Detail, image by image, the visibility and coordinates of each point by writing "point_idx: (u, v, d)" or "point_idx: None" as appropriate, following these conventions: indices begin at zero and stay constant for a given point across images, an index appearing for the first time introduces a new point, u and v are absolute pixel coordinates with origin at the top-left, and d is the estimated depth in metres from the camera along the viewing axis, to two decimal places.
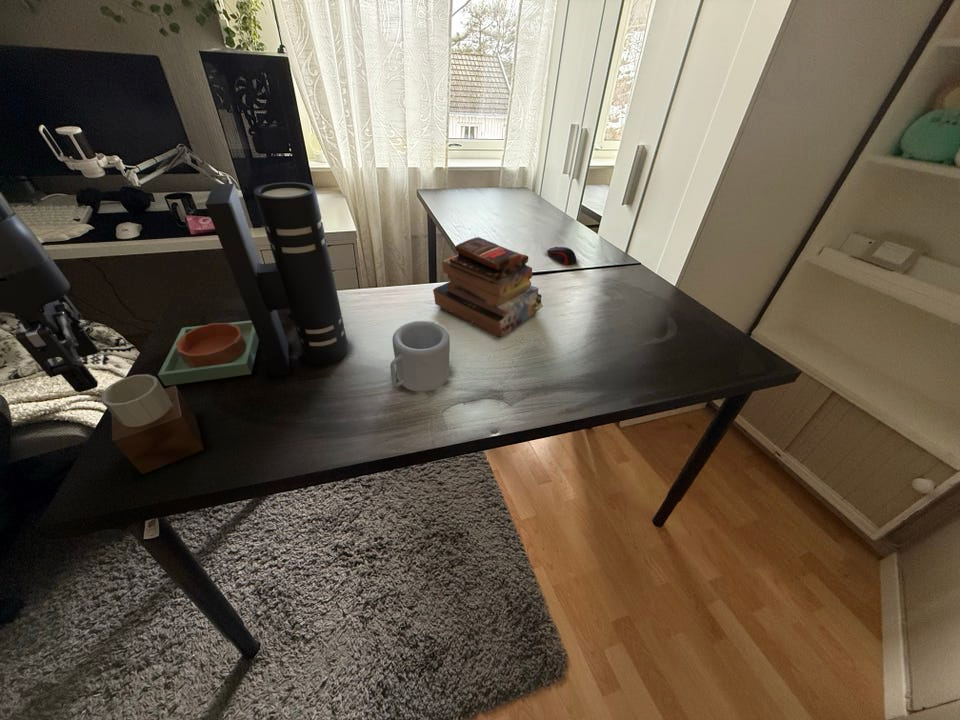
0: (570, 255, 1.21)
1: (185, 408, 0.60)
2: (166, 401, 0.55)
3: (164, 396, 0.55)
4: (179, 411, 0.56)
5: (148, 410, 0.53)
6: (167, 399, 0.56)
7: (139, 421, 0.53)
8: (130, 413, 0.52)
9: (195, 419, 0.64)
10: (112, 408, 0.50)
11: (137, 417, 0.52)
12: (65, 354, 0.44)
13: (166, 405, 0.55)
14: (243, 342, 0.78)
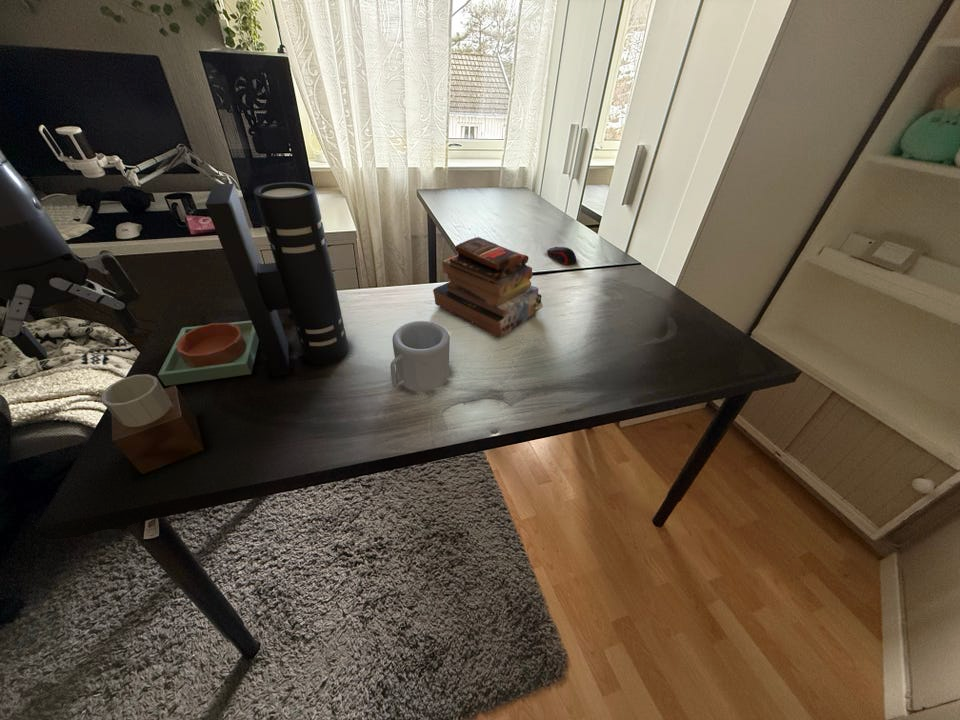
0: (569, 255, 1.21)
1: (185, 408, 0.60)
2: (166, 401, 0.55)
3: (164, 396, 0.55)
4: (179, 411, 0.56)
5: (148, 410, 0.53)
6: (167, 399, 0.56)
7: (139, 421, 0.53)
8: (130, 413, 0.52)
9: (195, 419, 0.64)
10: (112, 408, 0.50)
11: (137, 417, 0.52)
12: None
13: (166, 405, 0.55)
14: (243, 342, 0.78)
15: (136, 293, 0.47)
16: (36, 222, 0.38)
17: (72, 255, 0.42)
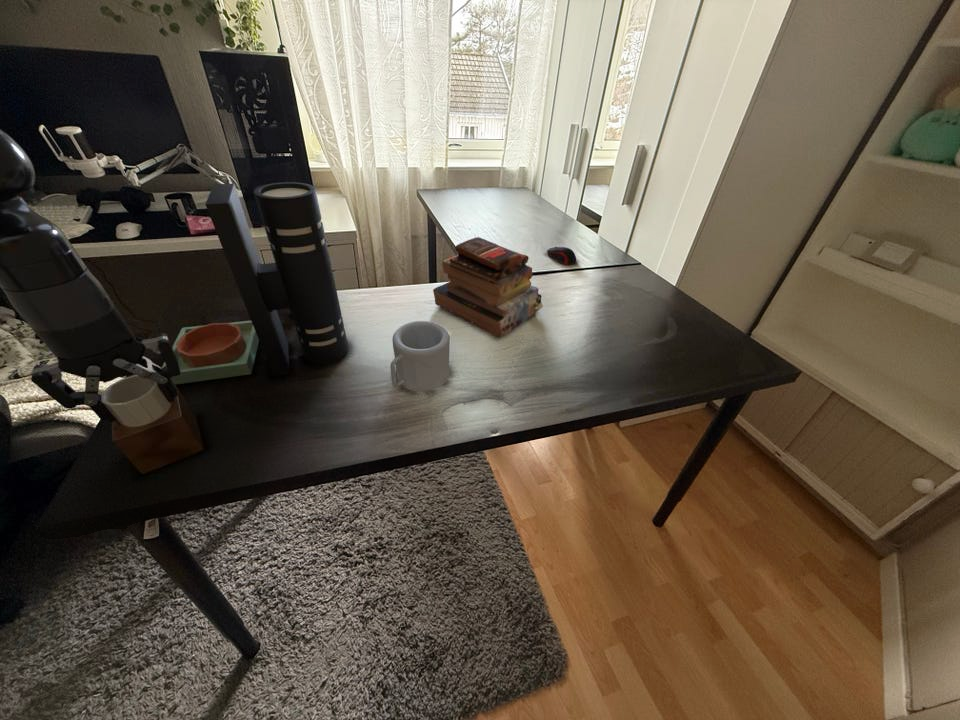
0: (569, 255, 1.21)
1: (185, 408, 0.60)
2: (165, 401, 0.55)
3: (164, 396, 0.55)
4: (179, 411, 0.56)
5: (148, 410, 0.53)
6: None
7: (139, 421, 0.53)
8: (130, 413, 0.52)
9: (195, 419, 0.64)
10: (112, 408, 0.50)
11: (137, 417, 0.52)
12: (52, 397, 0.47)
13: (166, 405, 0.55)
14: (243, 342, 0.78)
15: (177, 370, 0.54)
16: (105, 318, 0.45)
17: (132, 338, 0.49)
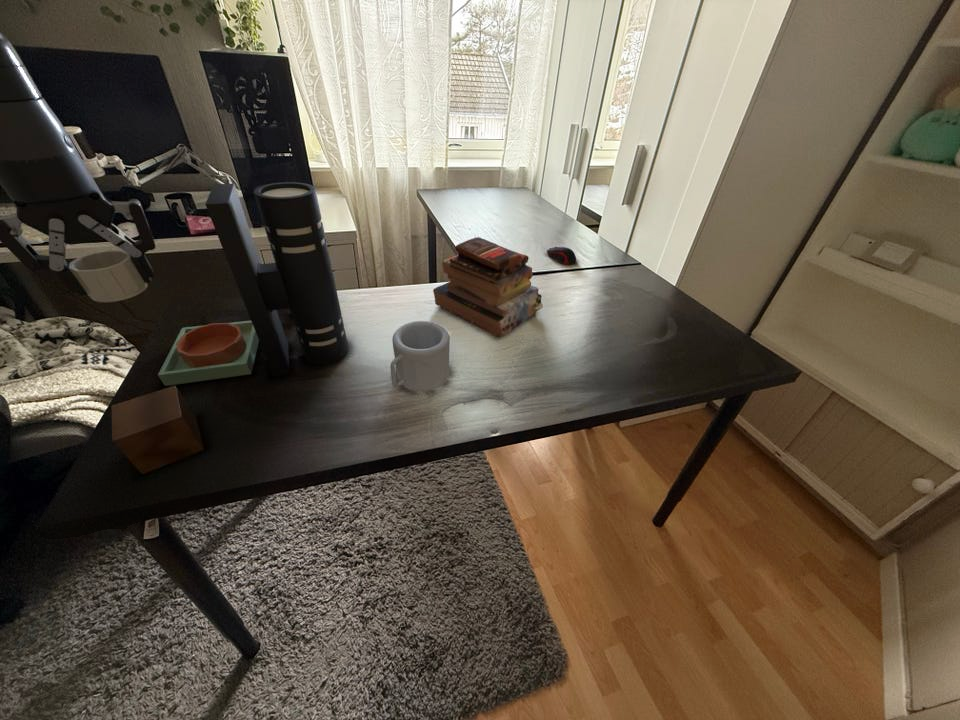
0: (569, 255, 1.21)
1: (185, 408, 0.60)
2: (140, 280, 0.51)
3: (139, 274, 0.51)
4: (179, 411, 0.56)
5: (120, 283, 0.49)
6: None
7: (111, 295, 0.49)
8: (101, 284, 0.48)
9: (195, 419, 0.64)
10: (80, 275, 0.47)
11: (108, 290, 0.48)
12: (12, 252, 0.43)
13: (141, 284, 0.51)
14: (243, 342, 0.78)
15: (152, 243, 0.50)
16: (66, 158, 0.41)
17: (100, 195, 0.45)
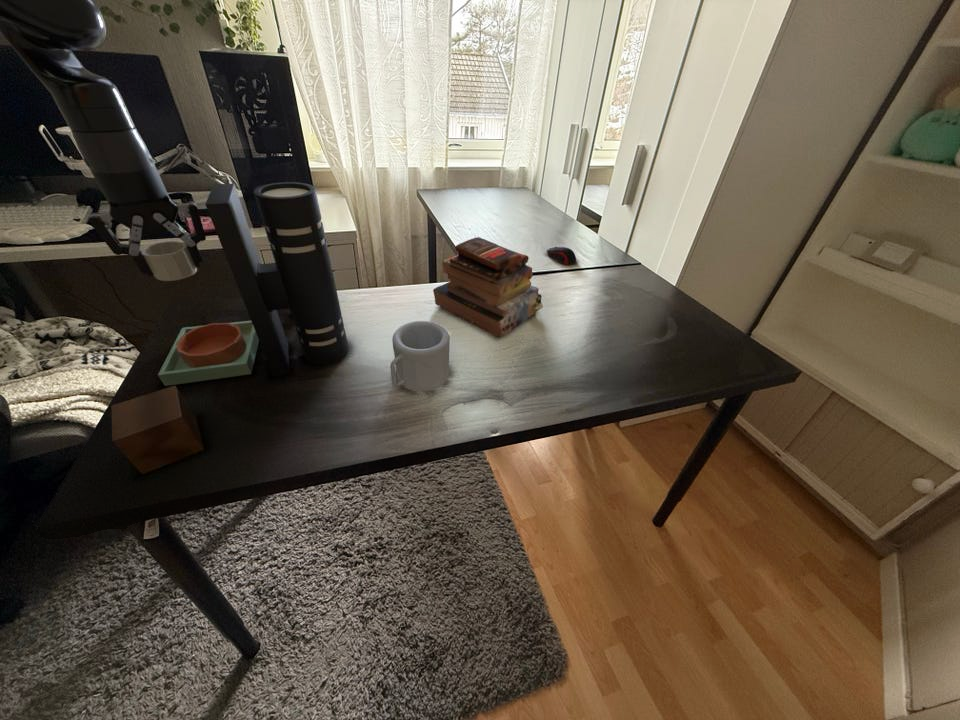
0: (569, 255, 1.21)
1: (185, 408, 0.60)
2: (193, 264, 0.66)
3: (192, 259, 0.65)
4: (179, 411, 0.56)
5: (179, 266, 0.63)
6: None
7: (172, 275, 0.63)
8: (165, 266, 0.62)
9: (195, 419, 0.64)
10: (151, 259, 0.61)
11: (170, 271, 0.63)
12: (104, 240, 0.57)
13: (193, 267, 0.66)
14: (243, 342, 0.78)
15: (203, 235, 0.64)
16: (149, 171, 0.55)
17: (168, 198, 0.59)
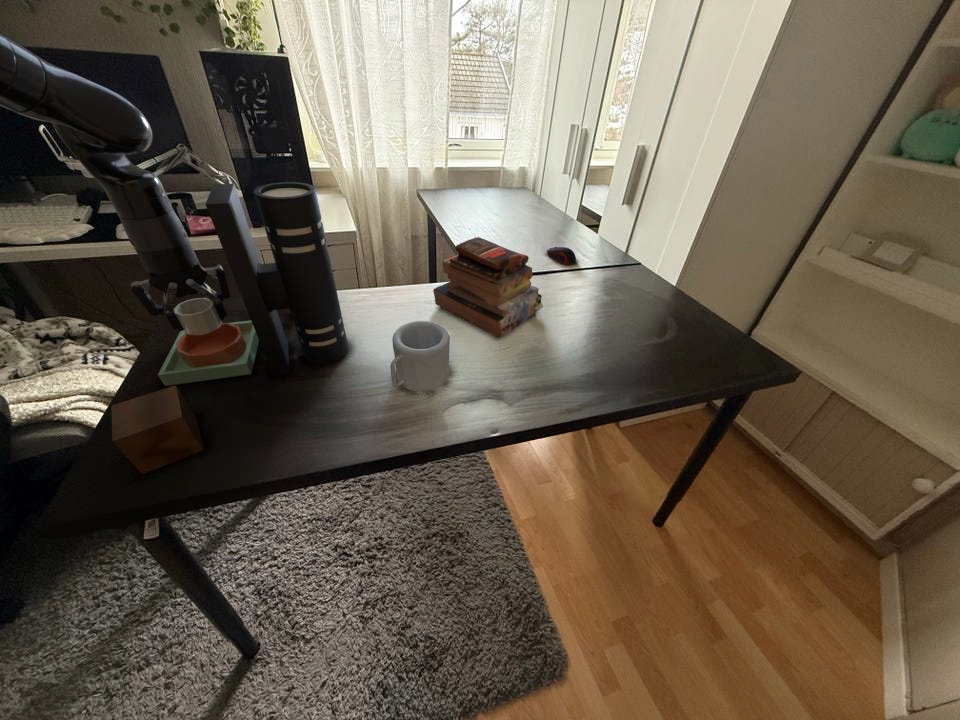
0: (569, 255, 1.21)
1: (185, 408, 0.60)
2: (218, 318, 0.73)
3: (217, 314, 0.73)
4: (179, 411, 0.56)
5: (207, 322, 0.70)
6: (219, 317, 0.73)
7: (200, 330, 0.70)
8: (195, 323, 0.69)
9: (195, 419, 0.64)
10: (182, 318, 0.68)
11: (199, 327, 0.70)
12: (143, 304, 0.64)
13: (219, 321, 0.73)
14: (243, 342, 0.78)
15: (228, 293, 0.72)
16: (184, 245, 0.63)
17: (199, 265, 0.67)
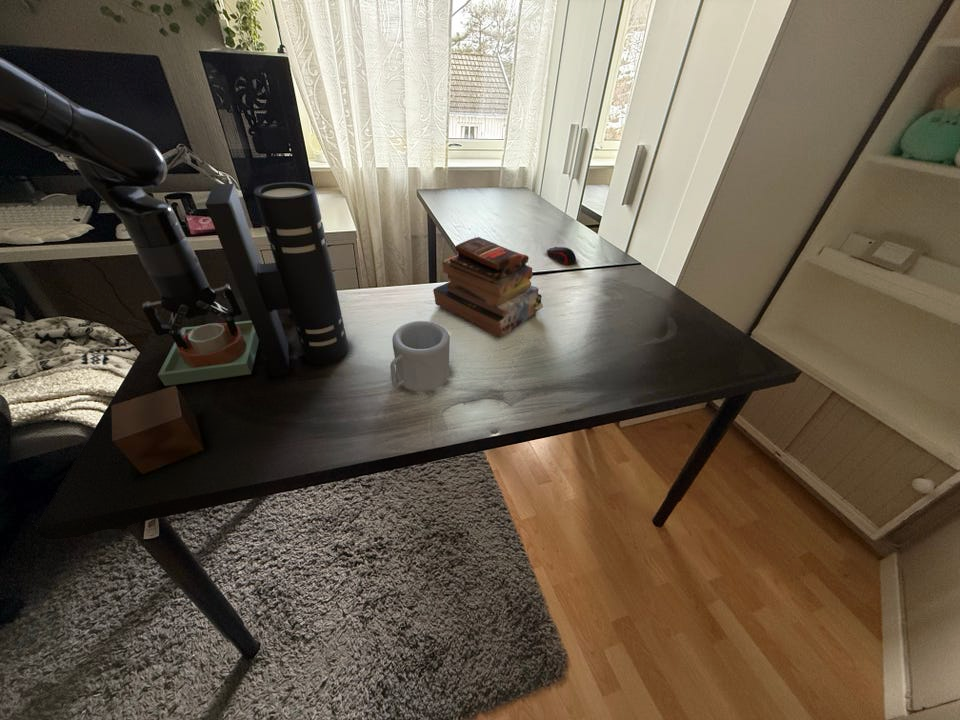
0: (569, 255, 1.21)
1: (185, 408, 0.60)
2: (229, 343, 0.77)
3: (228, 339, 0.76)
4: (179, 411, 0.56)
5: (219, 347, 0.74)
6: (230, 342, 0.77)
7: None
8: (208, 348, 0.73)
9: (195, 419, 0.64)
10: (196, 344, 0.72)
11: None
12: (151, 324, 0.67)
13: None
14: (243, 342, 0.78)
15: (240, 310, 0.75)
16: (195, 270, 0.65)
17: (209, 287, 0.70)
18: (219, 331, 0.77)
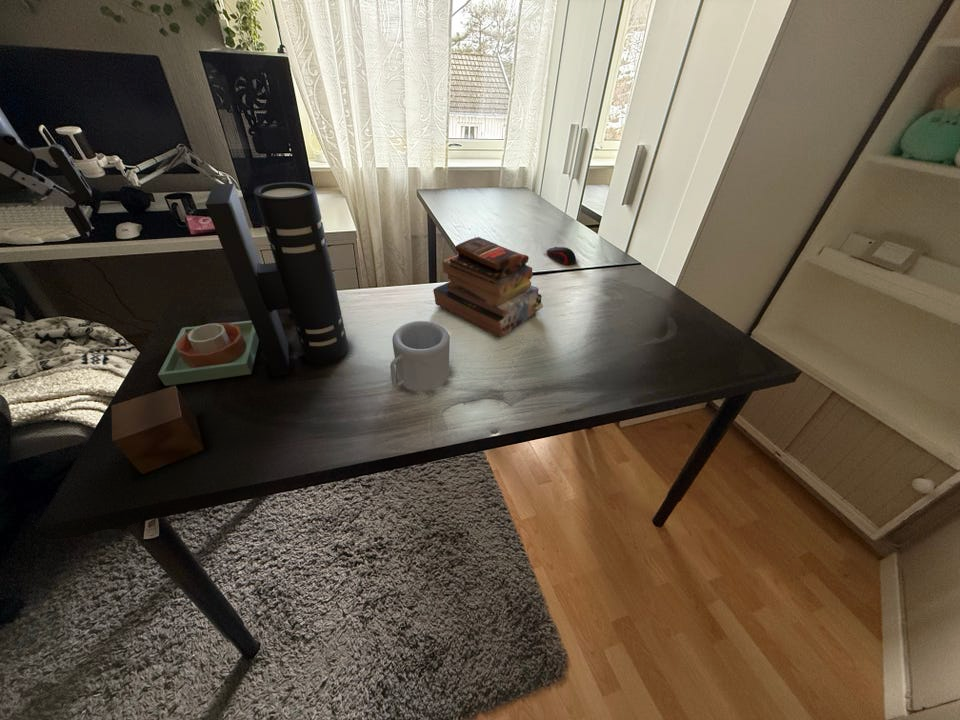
0: (569, 255, 1.21)
1: (185, 408, 0.60)
2: (229, 343, 0.77)
3: (228, 339, 0.76)
4: (179, 411, 0.56)
5: (219, 347, 0.74)
6: (230, 342, 0.77)
7: None
8: (208, 348, 0.73)
9: (195, 419, 0.64)
10: (196, 344, 0.72)
11: None
12: None
13: None
14: (243, 342, 0.78)
15: (87, 192, 0.47)
16: None
17: (17, 140, 0.42)
18: (219, 331, 0.77)
